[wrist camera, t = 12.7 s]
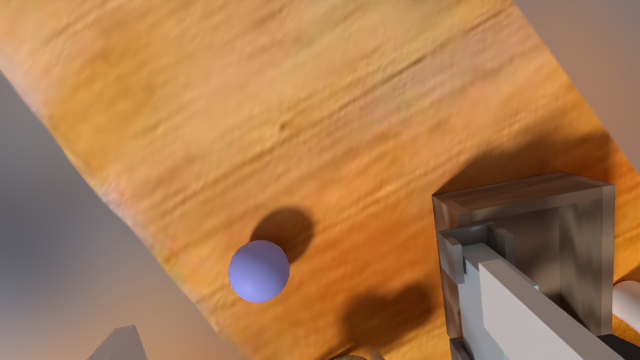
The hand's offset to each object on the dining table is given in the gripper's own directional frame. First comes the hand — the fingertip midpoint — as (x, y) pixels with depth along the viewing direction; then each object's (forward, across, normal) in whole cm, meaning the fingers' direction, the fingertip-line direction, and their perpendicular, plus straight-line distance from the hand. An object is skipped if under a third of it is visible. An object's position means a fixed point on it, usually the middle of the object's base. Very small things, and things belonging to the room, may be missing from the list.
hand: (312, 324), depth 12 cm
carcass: (+27, +21, -15) cm, 37 cm away
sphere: (+27, -8, -9) cm, 29 cm away
